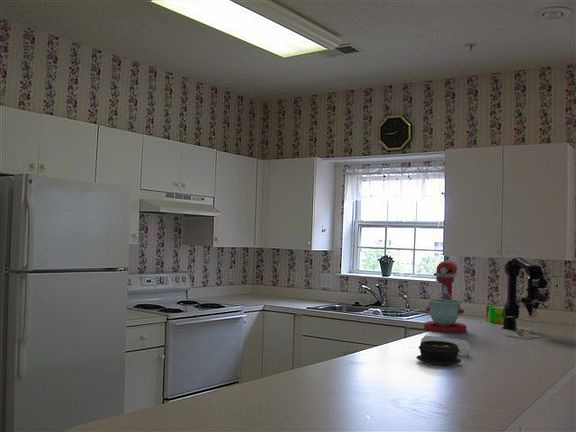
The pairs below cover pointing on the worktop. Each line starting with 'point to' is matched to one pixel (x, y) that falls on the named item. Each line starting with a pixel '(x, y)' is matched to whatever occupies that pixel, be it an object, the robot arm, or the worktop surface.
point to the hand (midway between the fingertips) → (532, 315)
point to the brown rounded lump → (533, 313)
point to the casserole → (438, 353)
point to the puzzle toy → (494, 314)
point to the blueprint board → (523, 336)
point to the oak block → (523, 332)
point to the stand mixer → (445, 303)
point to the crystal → (461, 344)
